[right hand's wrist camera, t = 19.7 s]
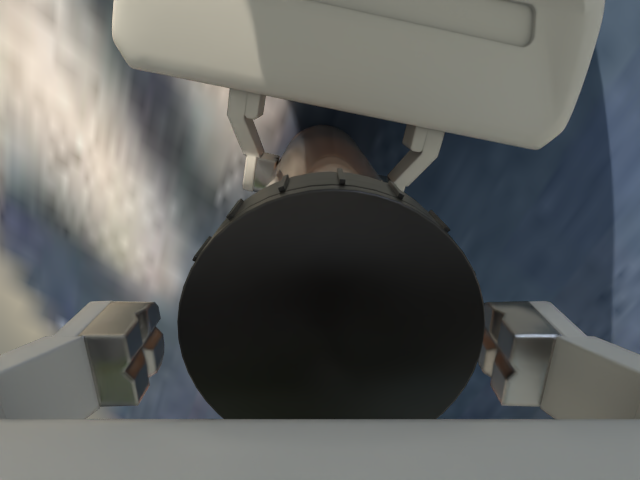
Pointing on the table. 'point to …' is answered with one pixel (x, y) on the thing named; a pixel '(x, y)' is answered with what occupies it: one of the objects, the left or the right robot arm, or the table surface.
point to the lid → (331, 305)
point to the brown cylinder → (322, 155)
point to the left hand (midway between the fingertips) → (320, 201)
